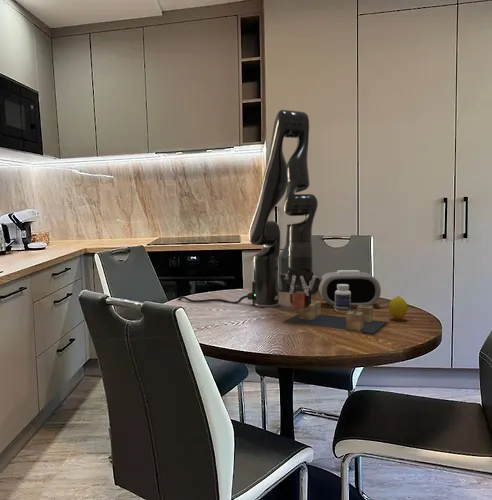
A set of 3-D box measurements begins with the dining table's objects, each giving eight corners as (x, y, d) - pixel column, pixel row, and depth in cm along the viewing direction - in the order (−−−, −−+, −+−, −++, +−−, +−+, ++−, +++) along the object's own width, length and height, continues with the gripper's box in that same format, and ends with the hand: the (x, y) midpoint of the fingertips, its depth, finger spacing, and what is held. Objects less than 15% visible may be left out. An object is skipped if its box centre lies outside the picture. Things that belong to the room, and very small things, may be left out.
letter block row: (346, 329, 152) (346, 313, 151) (360, 319, 163) (360, 304, 163) (359, 331, 149) (359, 314, 149) (373, 320, 161) (373, 305, 160)
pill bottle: (352, 313, 174) (352, 286, 173) (336, 312, 175) (336, 286, 174) (349, 309, 179) (349, 283, 178) (333, 309, 180) (333, 283, 179)
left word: (299, 318, 167) (299, 304, 166) (309, 313, 174) (309, 299, 173) (311, 320, 164) (311, 305, 164) (321, 315, 171) (320, 300, 171)
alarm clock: (321, 308, 183) (321, 273, 182) (318, 302, 192) (318, 269, 191) (381, 308, 178) (381, 272, 177) (375, 303, 187) (375, 268, 186)
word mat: (284, 322, 164) (284, 321, 164) (302, 313, 176) (302, 312, 176) (373, 334, 146) (373, 333, 146) (386, 323, 158) (386, 321, 158)
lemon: (405, 318, 163) (406, 294, 163) (408, 322, 158) (409, 298, 157) (387, 317, 165) (387, 294, 164) (389, 321, 160) (390, 297, 159)
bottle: (280, 292, 217) (279, 225, 214) (277, 288, 227) (276, 224, 224) (304, 292, 215) (303, 224, 212) (300, 288, 225) (299, 223, 222)
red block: (292, 307, 163) (292, 293, 162) (297, 305, 166) (297, 290, 165) (303, 309, 160) (303, 294, 160) (308, 307, 163) (308, 292, 163)
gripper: (326, 254, 159) (325, 305, 161) (285, 252, 168) (285, 301, 170) (317, 257, 154) (317, 310, 155) (275, 254, 163) (275, 305, 165)
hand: (300, 305), depth 163 cm, fingers closed on red block, 4 cm apart
